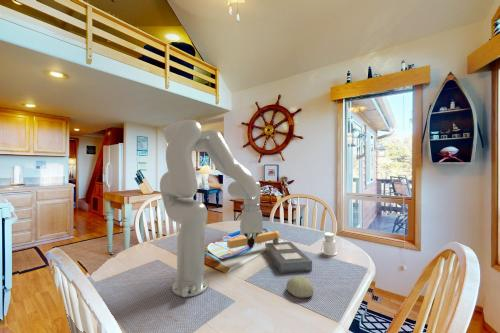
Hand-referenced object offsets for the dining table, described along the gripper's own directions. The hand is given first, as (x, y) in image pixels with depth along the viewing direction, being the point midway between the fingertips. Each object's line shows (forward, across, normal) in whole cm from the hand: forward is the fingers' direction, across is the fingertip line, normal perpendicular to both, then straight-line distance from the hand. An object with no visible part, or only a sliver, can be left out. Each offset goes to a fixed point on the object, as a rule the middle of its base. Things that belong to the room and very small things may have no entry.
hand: (250, 246), depth 103 cm
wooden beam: (+1, +4, +9) cm, 10 cm away
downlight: (+6, +42, +2) cm, 42 cm away
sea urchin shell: (+7, +12, -28) cm, 31 cm away
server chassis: (+6, +17, 0) cm, 18 cm away
